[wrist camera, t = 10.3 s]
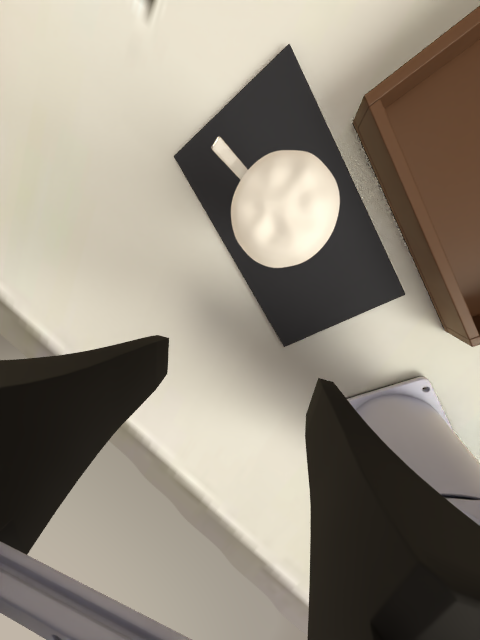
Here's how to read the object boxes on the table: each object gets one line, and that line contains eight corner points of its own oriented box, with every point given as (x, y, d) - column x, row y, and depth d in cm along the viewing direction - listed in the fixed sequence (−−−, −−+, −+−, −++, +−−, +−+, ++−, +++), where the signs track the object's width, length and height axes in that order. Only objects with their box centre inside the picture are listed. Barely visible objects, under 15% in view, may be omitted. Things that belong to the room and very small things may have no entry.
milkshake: (283, 170, 16) (261, 69, 7) (334, 224, 16) (381, 198, 7) (240, 221, 18) (178, 197, 9) (287, 270, 18) (276, 296, 9)
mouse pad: (403, 293, 17) (405, 294, 17) (284, 345, 21) (284, 347, 20) (289, 48, 14) (289, 42, 14) (176, 157, 18) (173, 156, 17)
